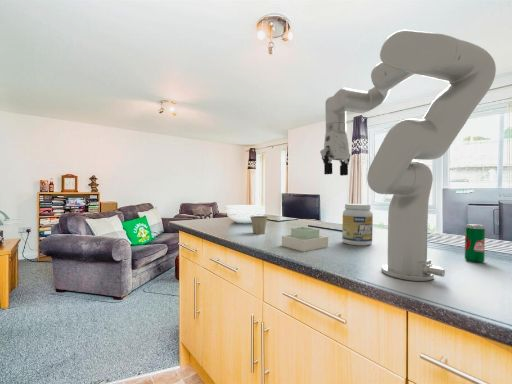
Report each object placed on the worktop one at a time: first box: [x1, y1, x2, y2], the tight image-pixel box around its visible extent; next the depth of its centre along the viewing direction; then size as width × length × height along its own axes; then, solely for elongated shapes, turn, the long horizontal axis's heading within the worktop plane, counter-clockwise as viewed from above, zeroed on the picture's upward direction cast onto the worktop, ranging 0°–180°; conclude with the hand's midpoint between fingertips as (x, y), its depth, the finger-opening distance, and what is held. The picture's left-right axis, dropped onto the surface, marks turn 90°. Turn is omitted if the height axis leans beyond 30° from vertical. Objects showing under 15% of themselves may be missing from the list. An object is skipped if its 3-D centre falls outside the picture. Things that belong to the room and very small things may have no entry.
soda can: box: [464, 223, 486, 264], centre depth 87 cm, size 5×5×12 cm
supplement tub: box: [342, 203, 374, 247], centre depth 115 cm, size 12×12×17 cm
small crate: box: [290, 226, 320, 240], centre depth 109 cm, size 9×7×7 cm
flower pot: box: [249, 215, 269, 235], centre depth 139 cm, size 9×9×9 cm
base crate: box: [281, 234, 329, 252], centre depth 109 cm, size 12×14×4 cm
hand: (336, 174), depth 101 cm, fingers open, 9 cm apart
